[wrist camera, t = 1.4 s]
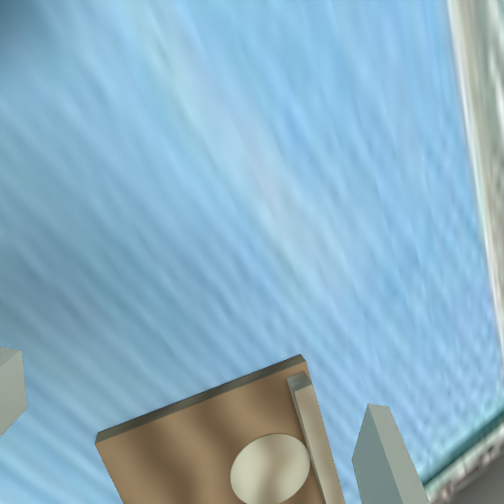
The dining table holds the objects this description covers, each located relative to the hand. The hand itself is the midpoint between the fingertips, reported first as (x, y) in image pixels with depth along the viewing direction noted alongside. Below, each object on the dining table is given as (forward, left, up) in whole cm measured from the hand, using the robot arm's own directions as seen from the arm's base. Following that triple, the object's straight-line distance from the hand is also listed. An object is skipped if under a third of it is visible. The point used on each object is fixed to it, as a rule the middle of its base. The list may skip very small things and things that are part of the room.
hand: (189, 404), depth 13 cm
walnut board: (+15, -18, -20) cm, 31 cm away
